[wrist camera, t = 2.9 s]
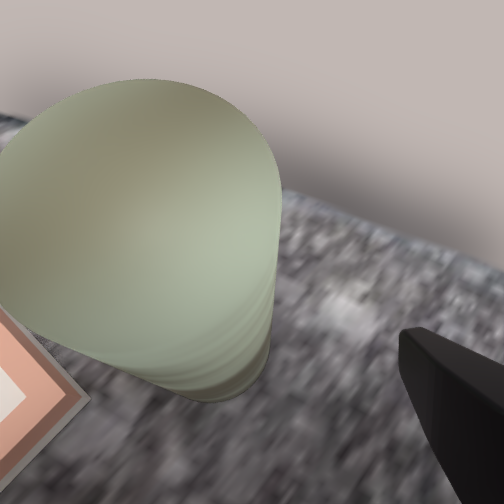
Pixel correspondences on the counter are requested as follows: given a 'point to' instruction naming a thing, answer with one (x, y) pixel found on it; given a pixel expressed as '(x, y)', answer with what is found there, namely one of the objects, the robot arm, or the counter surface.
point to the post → (145, 234)
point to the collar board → (30, 397)
